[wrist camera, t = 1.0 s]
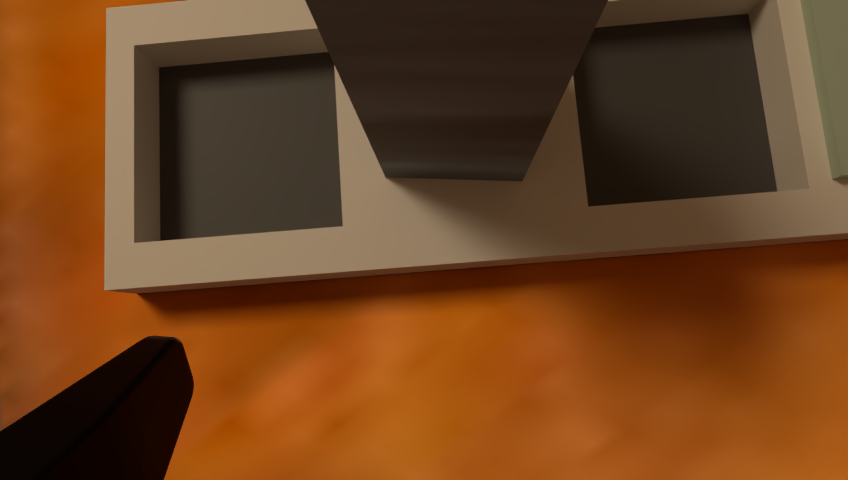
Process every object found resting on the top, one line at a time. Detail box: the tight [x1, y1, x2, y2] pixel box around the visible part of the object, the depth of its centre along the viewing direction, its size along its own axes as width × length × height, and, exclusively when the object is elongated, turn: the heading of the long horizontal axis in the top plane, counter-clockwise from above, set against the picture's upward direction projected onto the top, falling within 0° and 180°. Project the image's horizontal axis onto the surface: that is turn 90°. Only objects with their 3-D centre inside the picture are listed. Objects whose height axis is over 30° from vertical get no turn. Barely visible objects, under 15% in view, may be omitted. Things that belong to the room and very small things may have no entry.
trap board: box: [104, 0, 848, 294], centre depth 21 cm, size 31×10×2 cm, turn 94°
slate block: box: [305, 0, 608, 181], centre depth 14 cm, size 4×4×12 cm
